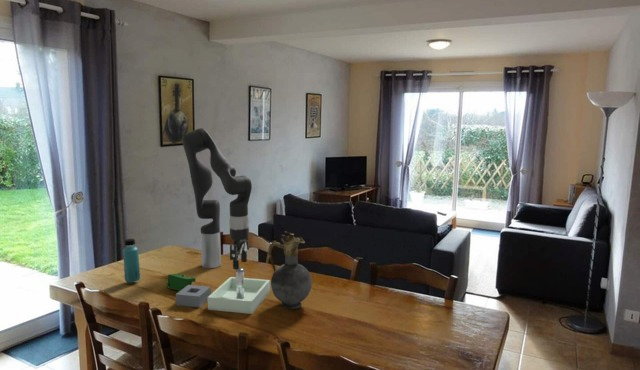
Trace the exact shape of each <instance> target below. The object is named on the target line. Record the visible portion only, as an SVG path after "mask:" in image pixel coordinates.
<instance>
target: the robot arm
mask: <svg viewBox="0 0 640 370" xmlns="http://www.w3.org/2000/svg"><path fill="white" fill-rule="evenodd" d="M181 142H182V147H183V149H184V150H183V151H184V153H185V156H186V160H187V164H188V168H189V175H190V180H191V185H192V188H193V194H194V199H195V200H194V201H195V207H196V215H197V217H198V219H202V220H208V219H209V220H212V221H211V222H209V223H207V224H204V225H202V226H201V227H200V245H201V246H200V247H201V248H200V249H201V251H200V252H201V267H202V268H205V269H214V268H215V269H216V268H218V267H220V266H221V265H222V258H221V257H222V256H221V252H222V251H221V248H222V247H221V229H220V227H221V226H220V225H221V224H220V223H221V221H220V217H221V216H220V215H221V213H220V212H221V210H220V209H221V207H220V205H221V204H220V202H219V200H218V199H204V198H205V196H206V195H207V193H209V191H210V189H211V188H212V186H213V177H212V171H213V172H214V174H216V175H217V177H218V178H219V179H220V182H221V184H222V186H223V188H224V191H225V192H226V193H227V194H228V195H230V196H236V195H237V197H236V198H235V199H233V200H231V201H230V202H229V238H230V240H233V244H229V260H230V261H232V269H233V270H236V269H237V270H238V269H239V268H240V262H241V263H247V262H248V257H247V256H248V251H249V250H250V238H249V237H250V221H249V201H250V197H251V194H252V193H251V192H252V189H253V187H252V184H253V183H252V181H251V179H250V177H249V176H247V175H239V176H236V175H237V169H235V167H234V166H233V165H232V164H231V162H230V161H228V159H227V158H226V157H225V156H224V154H223V153H222V151H221V150H220V148H219V147H218V145H217V143H216V142H215V140H214V139H213V137H212V136H211V135H210V133H209V132H208V131H207V130H206V129H205V128H203V127H200V128H197V129H194V130H191V131H189V132H187V133H184V134H183V135H182V137H181ZM207 149H208V150H209V152H210V158H209V160H210V161H209V163H210V167H211V169H210V167H209V166H207V165H206V164H205V163H204V162H203V161H201V160H199V159H198V158H197V154H198V153H200V152H203V151H206V150H207ZM211 170H212V171H211ZM239 259H240V260H239Z"/></svg>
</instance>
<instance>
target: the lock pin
mask: <svg viewBox="0 0 640 370" xmlns="http://www.w3.org/2000/svg"><path fill="white" fill-rule="evenodd" d="M235 277H236V293H237V299H243V298H245V292H244V278H245V268H243V267H239V269H238V270H237V269H235Z"/></svg>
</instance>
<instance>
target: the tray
mask: <svg viewBox="0 0 640 370" xmlns="http://www.w3.org/2000/svg"><path fill="white" fill-rule="evenodd" d="M244 292H245V298H243V299H237V293H236V276H230V277H229V278H228V279H226V280H225V281H224V282H223V283H221V285H220V286H218V287H217V288H216V289H214V290H213V292H211V295H209V296H208V300H207V310H208V311H209V310H210V311H220V312H228V313H229V312H231V313H238V314H239V313H240V314H249V315H253V314H254V312H255V311H256V310H257V309H258V307H259V306H260V305H261V303H263V301H264V300H265V298H266V297H268V295H269V294H270V292H271V279H262V278H261V279H260V278H247V277H244Z"/></svg>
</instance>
